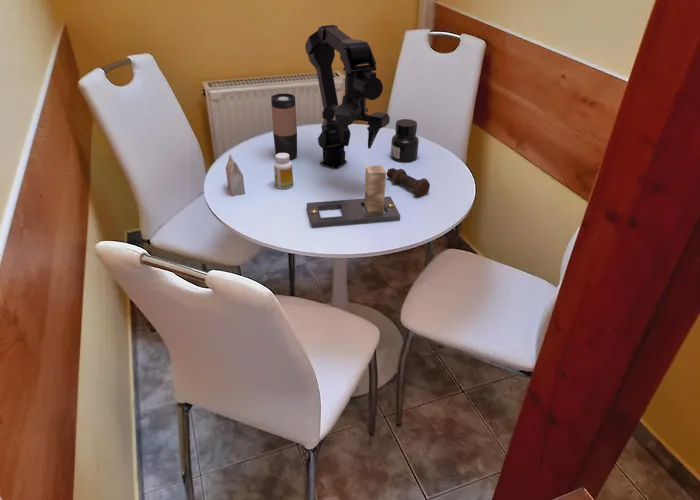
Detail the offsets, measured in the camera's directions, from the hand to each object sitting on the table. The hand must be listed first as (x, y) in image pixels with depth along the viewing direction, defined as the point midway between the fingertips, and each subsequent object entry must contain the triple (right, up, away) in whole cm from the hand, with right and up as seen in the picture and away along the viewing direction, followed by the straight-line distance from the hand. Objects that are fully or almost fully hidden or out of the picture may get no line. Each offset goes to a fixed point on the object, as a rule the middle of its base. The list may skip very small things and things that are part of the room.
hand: (355, 145), depth 154 cm
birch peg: (+5, -20, -6) cm, 21 cm away
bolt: (+15, -11, +7) cm, 20 cm away
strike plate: (-1, -20, -7) cm, 22 cm away
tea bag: (-35, -13, +4) cm, 37 cm away
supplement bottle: (-21, -11, +6) cm, 25 cm away
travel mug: (-23, +1, +24) cm, 33 cm away
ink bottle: (+17, +1, +24) cm, 30 cm away
